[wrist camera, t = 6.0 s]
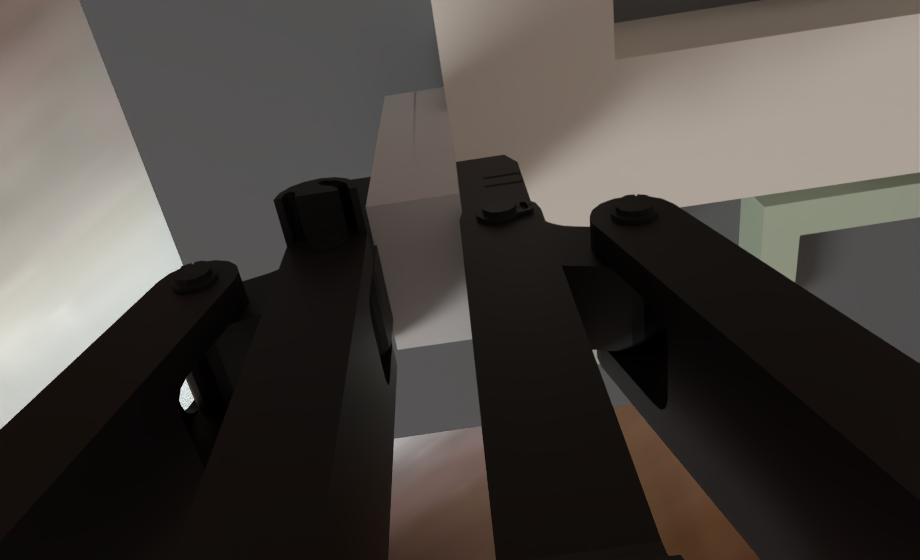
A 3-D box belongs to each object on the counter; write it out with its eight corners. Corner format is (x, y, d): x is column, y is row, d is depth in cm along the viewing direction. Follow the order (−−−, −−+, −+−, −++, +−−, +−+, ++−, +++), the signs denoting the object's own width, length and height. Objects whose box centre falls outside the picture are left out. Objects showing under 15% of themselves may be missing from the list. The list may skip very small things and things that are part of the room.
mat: (-43, -349, 14) (-61, -358, 13) (1209, -583, 13) (1241, -602, 13) (262, 445, 24) (258, 458, 24) (972, 342, 23) (984, 352, 23)
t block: (418, -98, 16) (416, -93, 13) (890, -175, 16) (1002, -186, 13) (474, 284, 21) (484, 353, 18) (834, 232, 21) (905, 293, 17)
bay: (426, -245, 15) (426, -257, 13) (1171, -378, 14) (1248, -404, 13) (509, 347, 22) (514, 376, 21) (999, 273, 22) (1036, 299, 20)
